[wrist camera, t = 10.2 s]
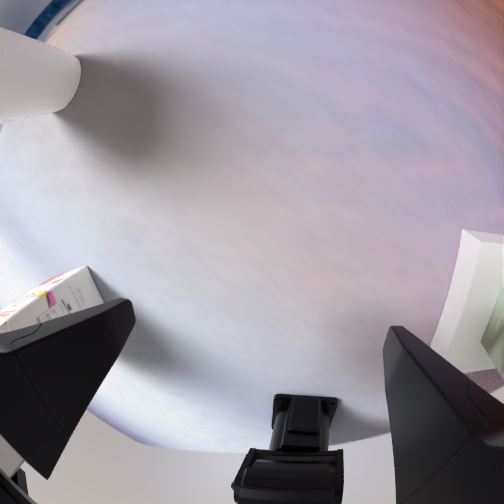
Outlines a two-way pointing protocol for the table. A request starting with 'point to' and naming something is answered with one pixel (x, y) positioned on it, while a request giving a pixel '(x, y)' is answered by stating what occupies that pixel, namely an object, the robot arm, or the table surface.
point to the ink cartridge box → (52, 300)
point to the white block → (471, 301)
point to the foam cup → (34, 77)
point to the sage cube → (496, 334)
